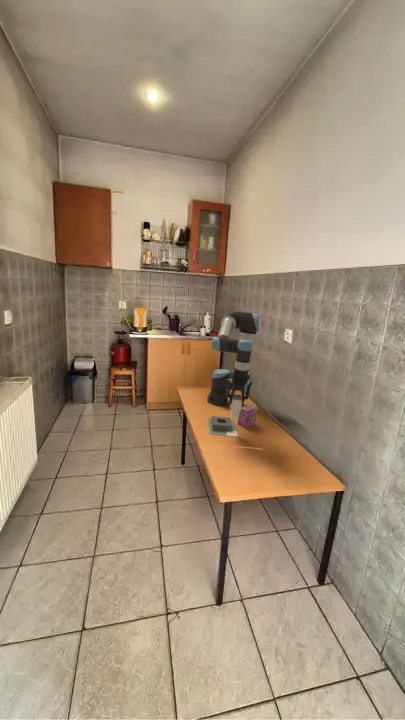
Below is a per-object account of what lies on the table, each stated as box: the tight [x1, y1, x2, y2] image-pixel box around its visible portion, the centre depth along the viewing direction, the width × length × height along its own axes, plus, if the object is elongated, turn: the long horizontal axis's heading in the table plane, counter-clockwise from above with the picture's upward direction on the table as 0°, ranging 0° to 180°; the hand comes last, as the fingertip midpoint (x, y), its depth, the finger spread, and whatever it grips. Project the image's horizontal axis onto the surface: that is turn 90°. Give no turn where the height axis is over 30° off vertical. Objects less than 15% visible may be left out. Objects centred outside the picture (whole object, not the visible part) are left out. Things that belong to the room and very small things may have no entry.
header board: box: [208, 415, 240, 438], centre depth 173 cm, size 21×16×4 cm
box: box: [237, 404, 259, 429], centre depth 179 cm, size 10×6×12 cm, turn 131°
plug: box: [230, 393, 242, 419], centre depth 162 cm, size 4×4×12 cm
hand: (235, 409), depth 163 cm, fingers closed on plug, 4 cm apart
